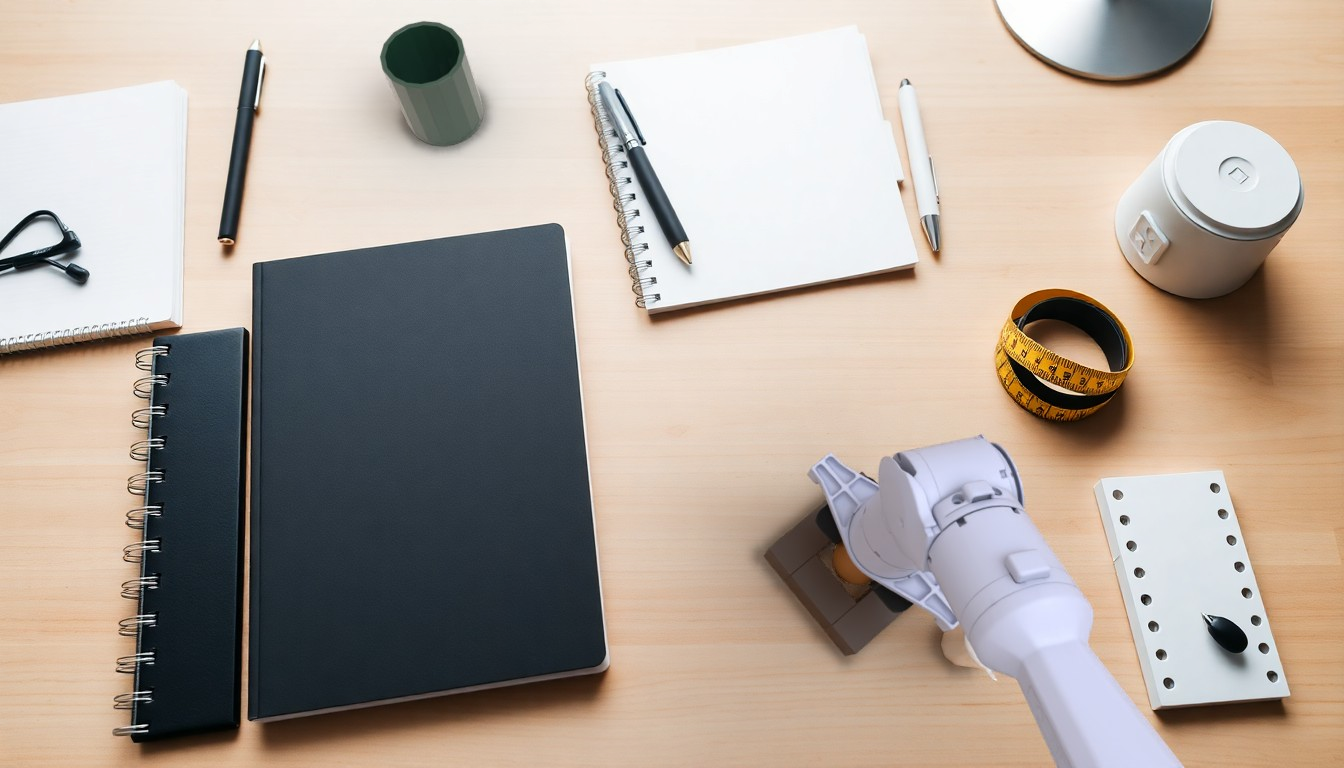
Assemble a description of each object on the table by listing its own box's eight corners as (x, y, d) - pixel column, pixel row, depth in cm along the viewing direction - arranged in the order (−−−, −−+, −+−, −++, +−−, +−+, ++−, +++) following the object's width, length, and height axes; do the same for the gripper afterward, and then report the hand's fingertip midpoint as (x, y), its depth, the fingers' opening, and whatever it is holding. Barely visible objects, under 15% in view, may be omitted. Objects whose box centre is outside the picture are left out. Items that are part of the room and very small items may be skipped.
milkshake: (923, 671, 69) (963, 667, 59) (941, 609, 71) (982, 596, 61) (976, 692, 68) (1025, 692, 59) (993, 630, 70) (1042, 620, 61)
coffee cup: (498, 119, 88) (479, 59, 80) (434, 159, 86) (409, 101, 78) (456, 72, 90) (434, 8, 82) (393, 109, 89) (364, 48, 80)
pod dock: (936, 576, 72) (950, 569, 68) (845, 656, 69) (855, 654, 66) (852, 482, 74) (862, 470, 71) (762, 555, 72) (767, 548, 68)
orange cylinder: (889, 564, 69) (916, 549, 62) (854, 595, 68) (877, 583, 61) (857, 527, 70) (879, 507, 63) (822, 557, 69) (840, 540, 62)
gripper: (1029, 575, 53) (960, 597, 66) (874, 408, 57) (837, 459, 70) (951, 646, 52) (896, 655, 65) (797, 469, 56) (774, 511, 69)
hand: (861, 557), depth 67 cm, fingers closed on orange cylinder, 4 cm apart
